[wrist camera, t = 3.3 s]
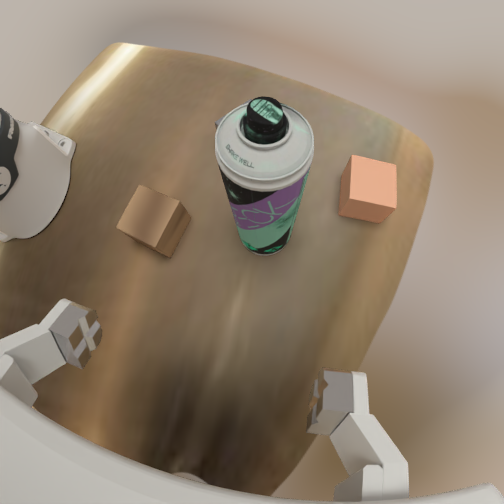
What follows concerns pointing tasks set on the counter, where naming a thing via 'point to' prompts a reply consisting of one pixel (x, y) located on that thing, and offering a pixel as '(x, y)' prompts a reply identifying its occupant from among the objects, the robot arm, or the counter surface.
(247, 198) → the spray can
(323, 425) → the robot arm
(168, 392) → the counter surface
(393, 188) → the terracotta block
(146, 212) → the walnut block
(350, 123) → the counter surface
